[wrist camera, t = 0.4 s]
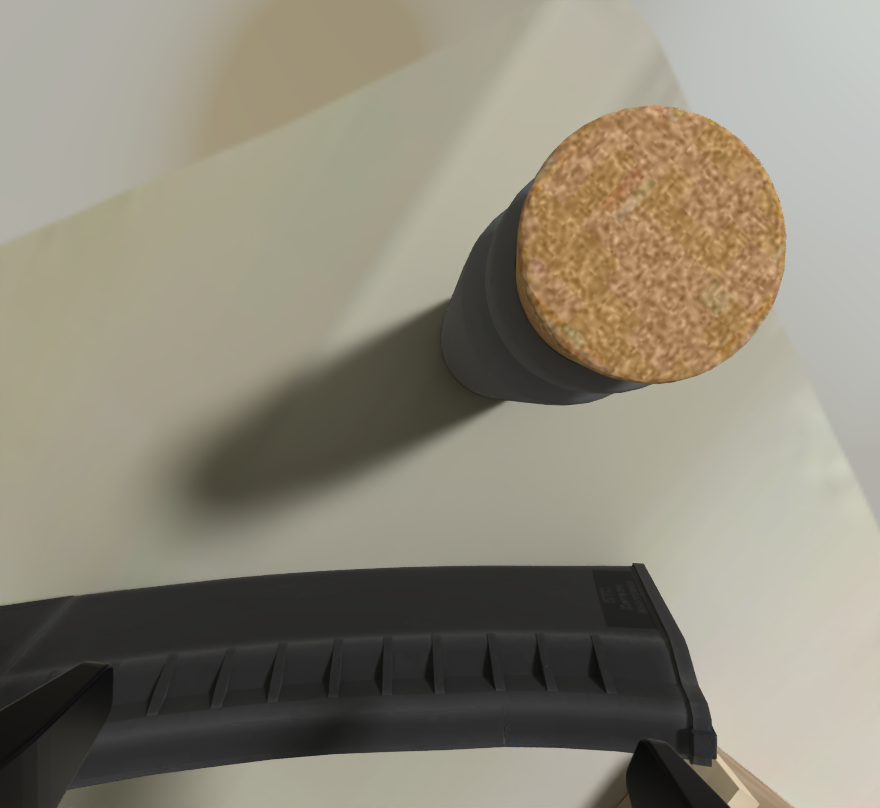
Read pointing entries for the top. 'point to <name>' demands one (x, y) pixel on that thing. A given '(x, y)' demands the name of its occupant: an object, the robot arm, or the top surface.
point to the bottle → (619, 264)
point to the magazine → (368, 665)
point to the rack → (733, 785)
